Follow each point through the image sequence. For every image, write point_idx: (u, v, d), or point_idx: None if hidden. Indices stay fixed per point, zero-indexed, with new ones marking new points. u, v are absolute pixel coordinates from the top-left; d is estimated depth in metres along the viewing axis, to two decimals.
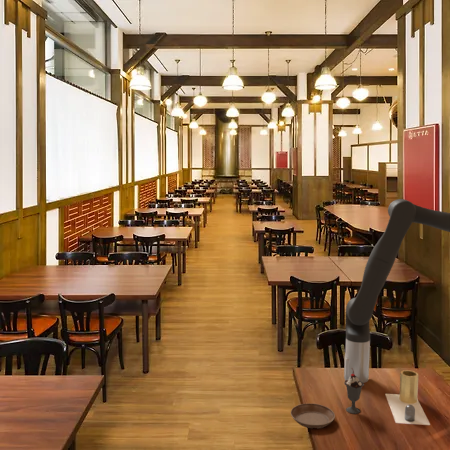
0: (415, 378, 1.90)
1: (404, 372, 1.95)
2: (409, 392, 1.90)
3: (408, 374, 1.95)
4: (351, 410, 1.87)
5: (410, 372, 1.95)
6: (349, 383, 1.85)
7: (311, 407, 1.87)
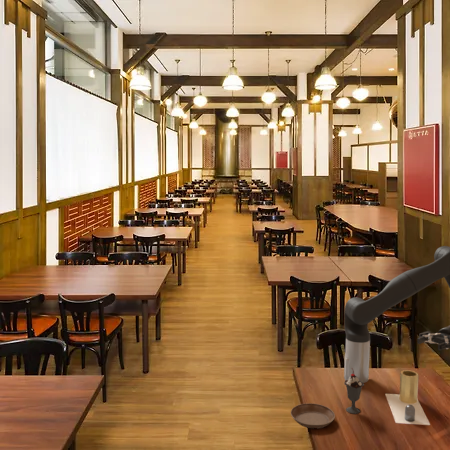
0: (415, 378, 1.90)
1: (404, 372, 1.95)
2: (409, 392, 1.90)
3: (408, 374, 1.95)
4: (351, 410, 1.87)
5: (410, 372, 1.95)
6: (349, 383, 1.85)
7: (311, 406, 1.87)
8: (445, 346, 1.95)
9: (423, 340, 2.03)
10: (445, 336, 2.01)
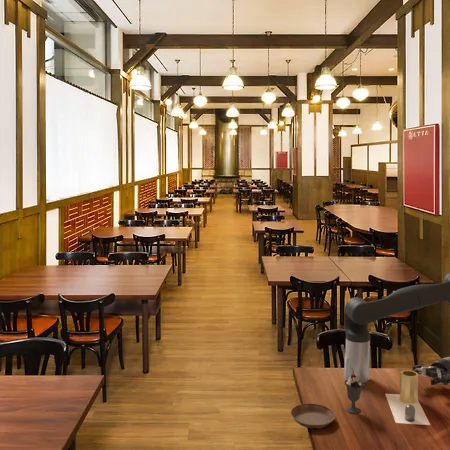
0: (415, 378, 1.90)
1: (404, 372, 1.95)
2: (409, 392, 1.90)
3: (408, 374, 1.95)
4: (351, 410, 1.87)
5: (410, 372, 1.95)
6: (349, 383, 1.85)
7: (311, 406, 1.87)
8: (438, 381, 1.95)
9: None
10: (438, 370, 2.01)
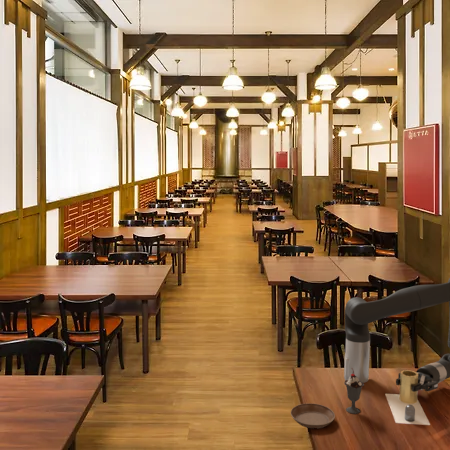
0: (415, 378, 1.90)
1: (404, 372, 1.95)
2: (409, 392, 1.90)
3: (408, 374, 1.95)
4: (351, 410, 1.87)
5: (410, 372, 1.95)
6: (349, 383, 1.85)
7: (311, 406, 1.87)
8: (419, 387, 1.90)
9: None
10: (423, 376, 1.95)
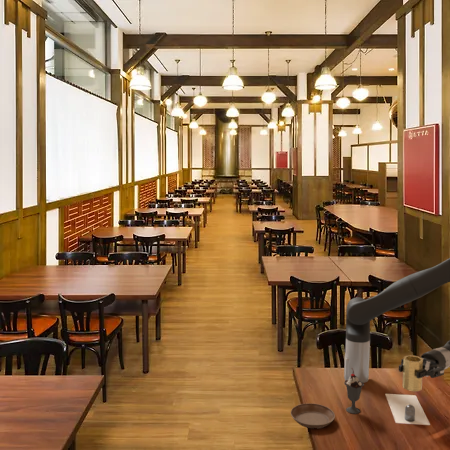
0: (420, 364, 1.75)
1: (407, 357, 1.80)
2: (413, 379, 1.75)
3: (412, 360, 1.80)
4: (351, 410, 1.87)
5: (414, 357, 1.80)
6: (349, 383, 1.85)
7: (311, 406, 1.87)
8: (424, 373, 1.75)
9: None
10: (428, 362, 1.80)
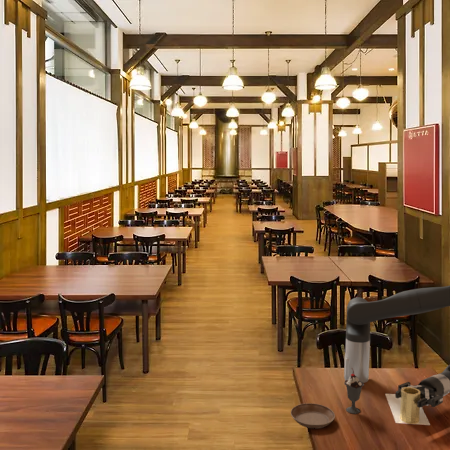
0: (417, 396, 1.76)
1: (405, 389, 1.80)
2: (411, 411, 1.76)
3: (409, 391, 1.81)
4: (351, 410, 1.87)
5: (412, 389, 1.80)
6: (349, 383, 1.85)
7: (311, 406, 1.87)
8: (425, 403, 1.75)
9: None
10: (426, 390, 1.80)
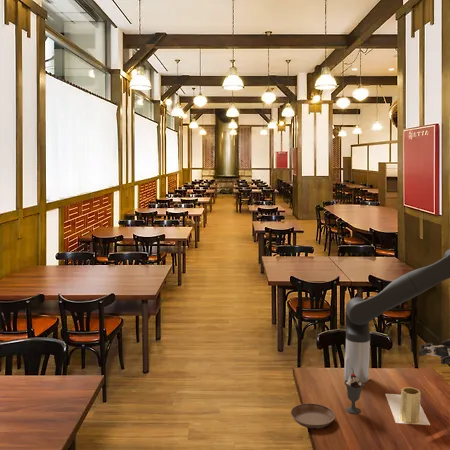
0: (417, 396, 1.76)
1: (405, 389, 1.80)
2: (411, 411, 1.76)
3: (409, 391, 1.81)
4: (351, 410, 1.87)
5: (412, 389, 1.80)
6: (349, 383, 1.85)
7: (311, 406, 1.87)
8: (449, 360, 1.81)
9: (425, 352, 1.88)
10: (449, 349, 1.87)
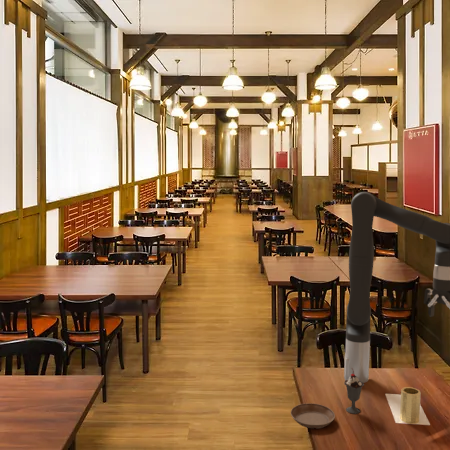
0: (417, 396, 1.76)
1: (405, 389, 1.80)
2: (411, 411, 1.76)
3: (409, 391, 1.81)
4: (351, 410, 1.87)
5: (412, 389, 1.80)
6: (349, 383, 1.85)
7: (311, 406, 1.87)
8: None
9: (433, 309, 2.03)
10: (444, 299, 1.97)
